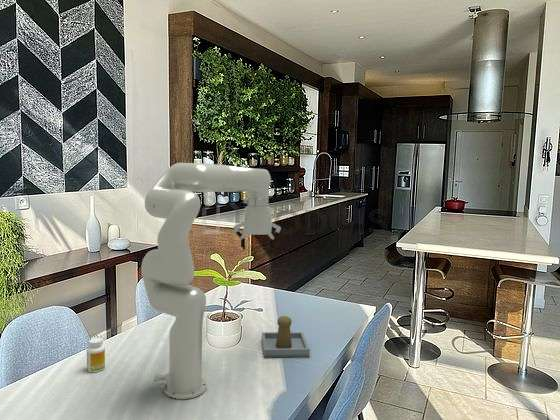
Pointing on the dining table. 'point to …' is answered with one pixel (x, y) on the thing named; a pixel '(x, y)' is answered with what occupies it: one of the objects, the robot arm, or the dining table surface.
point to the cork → (284, 333)
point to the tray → (296, 351)
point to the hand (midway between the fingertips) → (256, 249)
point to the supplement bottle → (95, 355)
